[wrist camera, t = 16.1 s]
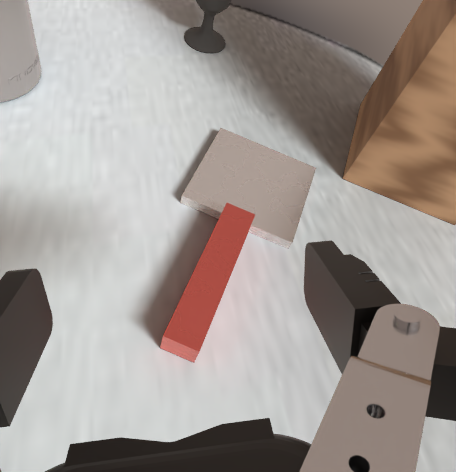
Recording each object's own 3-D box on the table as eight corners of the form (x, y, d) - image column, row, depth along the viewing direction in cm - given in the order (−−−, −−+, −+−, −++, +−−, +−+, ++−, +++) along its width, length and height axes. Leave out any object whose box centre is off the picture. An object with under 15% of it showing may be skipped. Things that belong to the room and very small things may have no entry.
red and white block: (109, 326, 27) (108, 312, 25) (218, 135, 40) (223, 115, 38) (244, 384, 27) (254, 375, 25) (312, 174, 39) (322, 157, 37)
